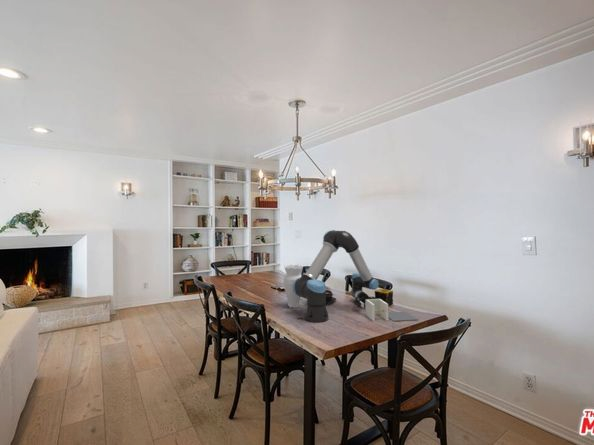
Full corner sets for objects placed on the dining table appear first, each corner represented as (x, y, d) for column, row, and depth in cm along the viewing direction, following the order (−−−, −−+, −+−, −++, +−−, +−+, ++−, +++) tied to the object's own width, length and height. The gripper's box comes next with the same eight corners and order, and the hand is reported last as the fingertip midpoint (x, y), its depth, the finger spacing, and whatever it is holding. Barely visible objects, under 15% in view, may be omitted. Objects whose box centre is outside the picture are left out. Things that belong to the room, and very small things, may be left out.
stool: (372, 321, 182) (372, 304, 182) (365, 314, 195) (365, 299, 195) (388, 320, 184) (388, 304, 184) (380, 314, 196) (380, 298, 196)
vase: (279, 306, 216) (279, 266, 216) (294, 302, 226) (294, 263, 226) (292, 310, 205) (292, 268, 205) (308, 306, 215) (307, 266, 215)
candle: (374, 304, 219) (373, 290, 219) (380, 301, 226) (380, 288, 226) (387, 307, 212) (386, 293, 212) (393, 304, 219) (393, 290, 219)
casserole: (319, 308, 209) (319, 296, 209) (301, 303, 223) (301, 292, 223) (342, 302, 226) (342, 291, 226) (324, 297, 240) (324, 287, 240)
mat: (393, 321, 181) (393, 320, 181) (382, 313, 197) (382, 312, 197) (418, 320, 183) (418, 319, 183) (405, 312, 199) (405, 311, 199)
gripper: (378, 301, 219) (391, 309, 198) (345, 302, 215) (355, 311, 194) (378, 291, 219) (391, 298, 198) (345, 292, 215) (354, 300, 194)
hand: (373, 305), depth 196 cm, fingers open, 13 cm apart
